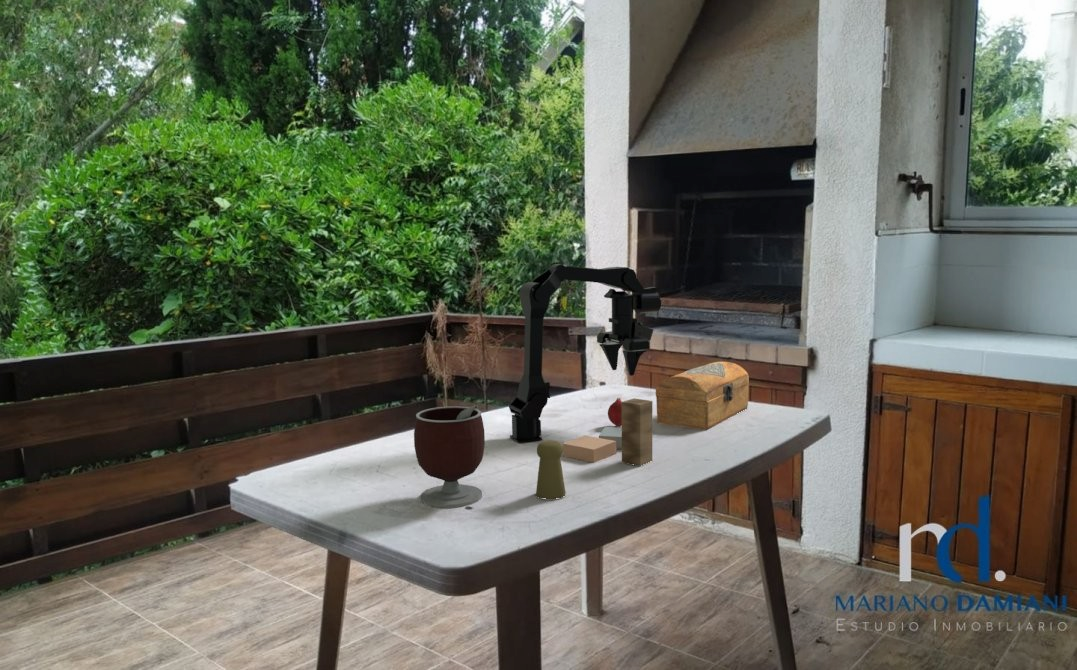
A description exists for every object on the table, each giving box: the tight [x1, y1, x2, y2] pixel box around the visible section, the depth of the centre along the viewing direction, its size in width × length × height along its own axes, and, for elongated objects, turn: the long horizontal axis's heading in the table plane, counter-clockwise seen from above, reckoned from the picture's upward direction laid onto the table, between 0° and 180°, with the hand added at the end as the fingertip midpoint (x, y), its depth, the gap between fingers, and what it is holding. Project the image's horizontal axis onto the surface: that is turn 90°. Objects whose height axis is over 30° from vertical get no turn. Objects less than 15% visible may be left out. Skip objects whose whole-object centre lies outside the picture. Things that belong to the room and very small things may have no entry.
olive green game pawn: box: [535, 439, 567, 499], centre depth 156 cm, size 6×6×11 cm
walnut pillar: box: [621, 397, 653, 467], centre depth 178 cm, size 5×5×14 cm
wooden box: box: [655, 361, 750, 431], centre depth 221 cm, size 30×16×14 cm, turn 143°
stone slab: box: [598, 426, 622, 450], centre depth 193 cm, size 9×9×3 cm
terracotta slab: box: [562, 435, 617, 463], centre depth 185 cm, size 9×9×3 cm
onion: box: [607, 397, 623, 428], centre depth 210 cm, size 6×6×8 cm
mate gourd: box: [413, 404, 486, 509], centre depth 155 cm, size 16×14×20 cm
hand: (622, 372), depth 209 cm, fingers open, 9 cm apart
